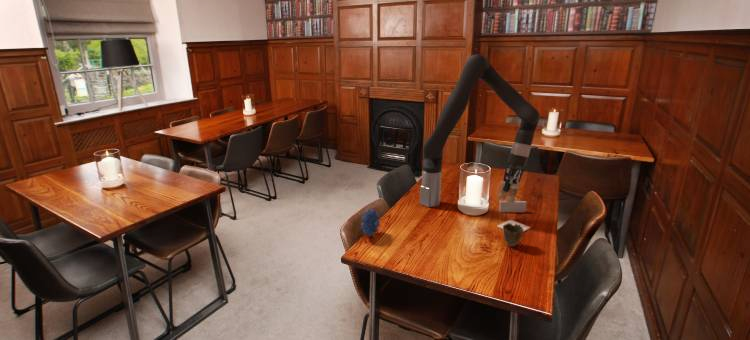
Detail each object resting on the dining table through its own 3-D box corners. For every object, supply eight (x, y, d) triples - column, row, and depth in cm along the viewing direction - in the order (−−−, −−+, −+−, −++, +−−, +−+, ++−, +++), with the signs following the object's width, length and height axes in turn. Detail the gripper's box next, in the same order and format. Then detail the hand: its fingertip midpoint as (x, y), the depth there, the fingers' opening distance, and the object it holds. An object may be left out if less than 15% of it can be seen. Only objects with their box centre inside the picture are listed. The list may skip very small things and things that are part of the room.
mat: (517, 234, 166) (517, 233, 166) (496, 226, 174) (496, 225, 174) (530, 227, 172) (530, 227, 172) (510, 220, 180) (510, 219, 180)
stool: (501, 206, 174) (491, 187, 177) (506, 206, 178) (497, 186, 181) (520, 197, 168) (509, 177, 171) (525, 196, 172) (515, 177, 175)
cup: (522, 243, 159) (524, 224, 157) (520, 251, 153) (522, 232, 151) (502, 239, 162) (504, 221, 160) (500, 247, 156) (501, 229, 154)
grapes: (371, 244, 159) (370, 216, 156) (357, 239, 163) (356, 212, 159) (386, 233, 168) (387, 206, 165) (373, 229, 172) (373, 203, 168)
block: (525, 212, 188) (526, 202, 187) (499, 212, 188) (500, 202, 187) (524, 210, 190) (525, 201, 188) (499, 210, 190) (499, 201, 188)
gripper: (518, 152, 179) (508, 188, 182) (504, 151, 168) (493, 189, 171) (534, 156, 174) (523, 193, 177) (520, 155, 163) (509, 194, 167)
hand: (508, 191), depth 174 cm, fingers closed on stool, 5 cm apart
